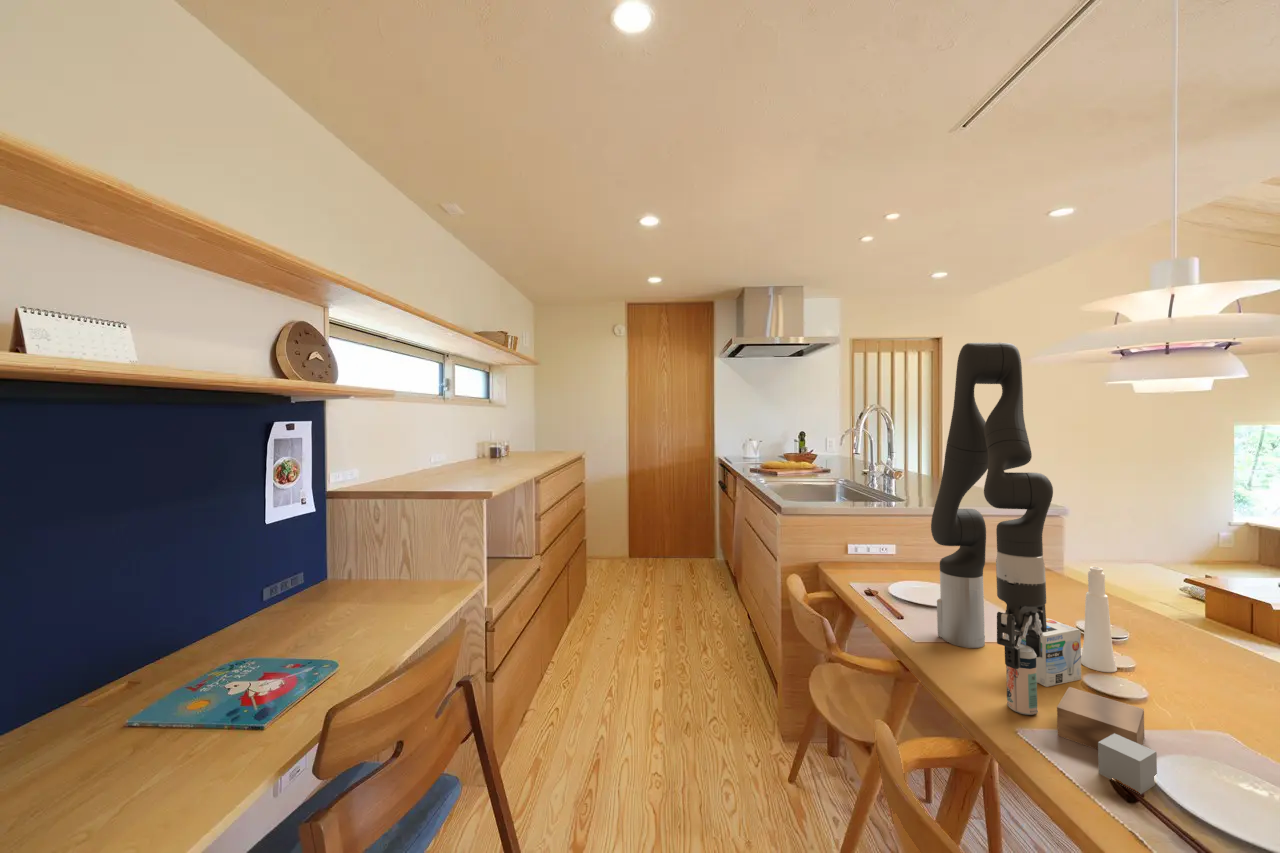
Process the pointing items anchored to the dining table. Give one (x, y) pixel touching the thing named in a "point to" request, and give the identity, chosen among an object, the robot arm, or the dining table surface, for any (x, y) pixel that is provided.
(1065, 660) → the light bulb box
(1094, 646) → the cosmetic bottle
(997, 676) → the dining table surface
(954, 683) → the dining table surface
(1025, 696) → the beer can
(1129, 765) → the slate block
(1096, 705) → the walnut block
